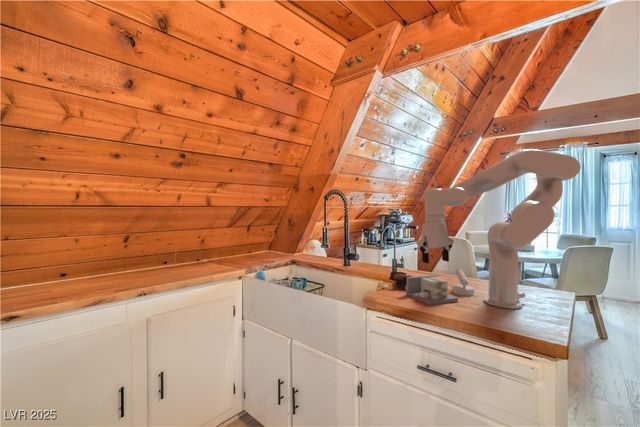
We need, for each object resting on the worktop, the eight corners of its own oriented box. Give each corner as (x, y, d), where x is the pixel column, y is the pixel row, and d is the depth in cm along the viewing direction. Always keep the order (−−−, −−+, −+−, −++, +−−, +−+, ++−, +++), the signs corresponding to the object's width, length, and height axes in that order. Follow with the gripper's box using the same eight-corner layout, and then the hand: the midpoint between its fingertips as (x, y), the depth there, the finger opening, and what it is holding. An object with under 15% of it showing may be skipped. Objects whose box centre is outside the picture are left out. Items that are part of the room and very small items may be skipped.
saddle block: (434, 292, 122) (434, 276, 122) (447, 297, 115) (447, 281, 115) (421, 293, 120) (421, 277, 120) (433, 299, 113) (433, 282, 113)
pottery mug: (386, 289, 133) (385, 272, 137) (394, 294, 140) (393, 277, 144) (411, 286, 127) (410, 268, 131) (419, 292, 133) (417, 274, 137)
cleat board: (433, 292, 128) (433, 275, 128) (457, 301, 115) (458, 282, 114) (406, 294, 123) (406, 277, 123) (428, 305, 110) (428, 285, 110)
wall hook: (468, 268, 132) (477, 273, 122) (468, 289, 132) (477, 296, 122) (448, 268, 133) (455, 272, 123) (448, 288, 133) (455, 295, 123)
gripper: (445, 218, 123) (446, 258, 123) (411, 219, 118) (411, 261, 118) (459, 219, 116) (459, 261, 116) (423, 220, 111) (423, 265, 111)
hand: (435, 261), depth 117 cm, fingers open, 9 cm apart
